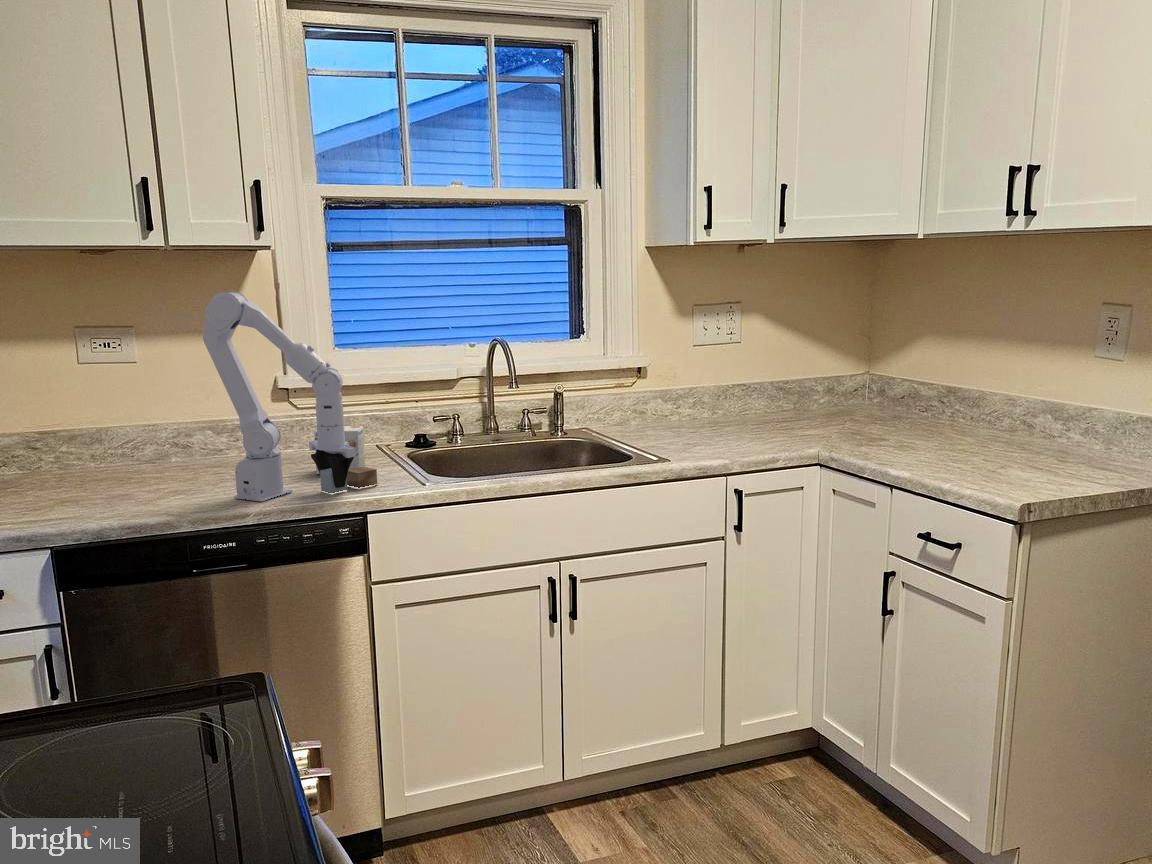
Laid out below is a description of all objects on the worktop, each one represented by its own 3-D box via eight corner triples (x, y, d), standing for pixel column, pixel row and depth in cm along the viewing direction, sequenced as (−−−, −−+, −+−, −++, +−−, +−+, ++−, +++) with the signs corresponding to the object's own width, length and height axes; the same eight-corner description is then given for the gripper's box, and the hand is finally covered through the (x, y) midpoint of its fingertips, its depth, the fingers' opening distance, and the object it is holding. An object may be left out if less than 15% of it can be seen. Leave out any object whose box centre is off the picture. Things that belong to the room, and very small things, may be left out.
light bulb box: (315, 475, 213) (313, 431, 211) (322, 469, 220) (320, 426, 218) (360, 474, 214) (358, 430, 212) (366, 468, 220) (364, 425, 218)
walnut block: (359, 490, 198) (358, 473, 197) (345, 487, 201) (344, 470, 201) (377, 486, 202) (376, 469, 201) (364, 483, 205) (363, 466, 204)
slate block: (331, 495, 194) (330, 472, 193) (321, 492, 196) (319, 470, 196) (347, 491, 197) (346, 469, 196) (336, 489, 199) (335, 467, 199)
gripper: (365, 425, 192) (369, 486, 195) (327, 419, 202) (330, 477, 204) (337, 430, 187) (341, 493, 189) (299, 423, 196) (303, 483, 199)
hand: (334, 485), depth 196 cm, fingers closed on slate block, 4 cm apart
